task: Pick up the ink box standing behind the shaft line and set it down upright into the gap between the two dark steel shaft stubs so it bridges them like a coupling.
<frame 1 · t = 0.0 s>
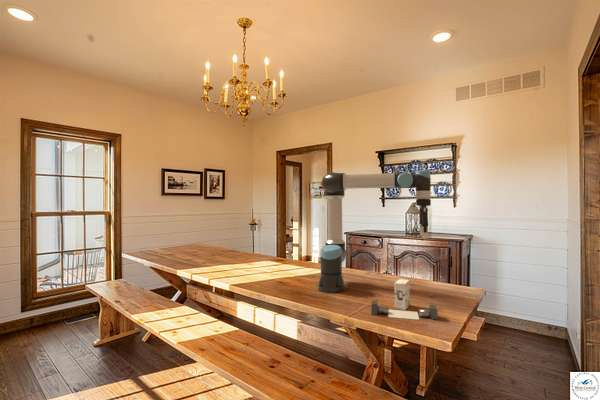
hand: (423, 237, 173), 28 cm above the table, fingers open, 13 cm apart
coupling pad: (403, 314, 134), on the table
shaft stub b: (427, 317, 131), on the table
ink box: (402, 307, 144), on the table
shaft stub a: (380, 313, 136), on the table
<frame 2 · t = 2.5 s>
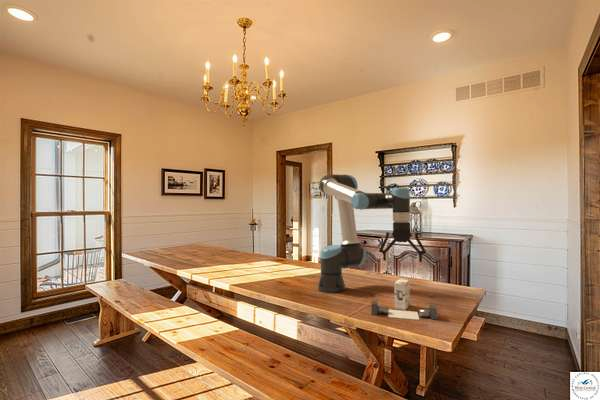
hand: (402, 268, 144), 18 cm above the table, fingers open, 13 cm apart
nothing on the table moved.
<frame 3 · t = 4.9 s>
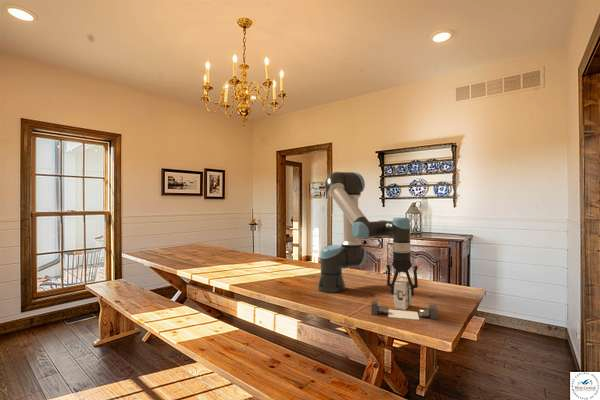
hand: (402, 302, 144), 2 cm above the table, fingers closed on ink box, 6 cm apart
ink box: (402, 307, 144), on the table, touching gripper
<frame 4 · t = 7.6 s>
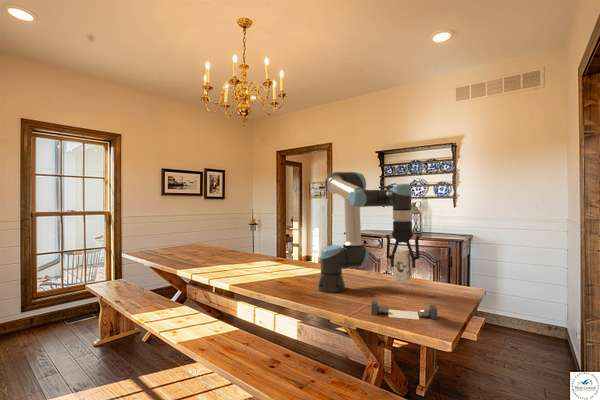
hand: (402, 275, 134), 17 cm above the table, fingers closed on ink box, 6 cm apart
ink box: (403, 280, 134), point 15 cm above the table, touching gripper
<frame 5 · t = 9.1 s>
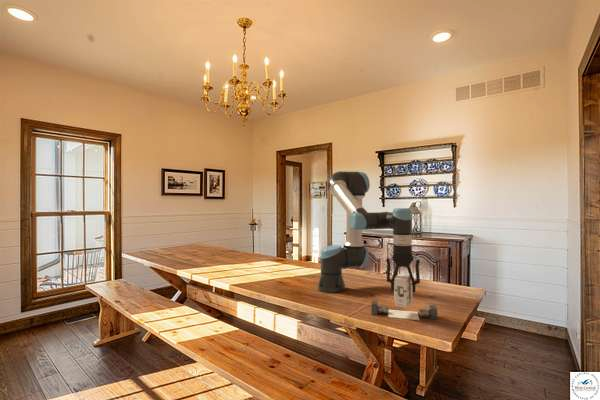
hand: (403, 299, 134), 7 cm above the table, fingers closed on ink box, 6 cm apart
ink box: (403, 304, 134), point 4 cm above the table, touching gripper
when the fingers open (4 cm above the table, at t = 10.5 s): ink box drops 2 cm, resting on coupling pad.
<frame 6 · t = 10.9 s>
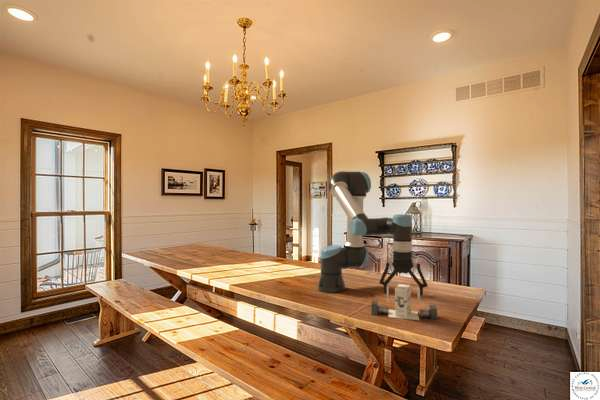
hand: (403, 301, 134), 6 cm above the table, fingers open, 12 cm apart
ink box: (403, 314, 134), resting on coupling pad
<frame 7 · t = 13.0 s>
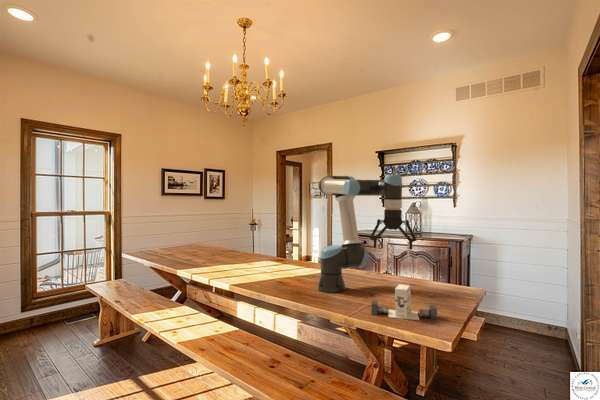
hand: (392, 255, 143), 23 cm above the table, fingers open, 13 cm apart
nothing on the table moved.
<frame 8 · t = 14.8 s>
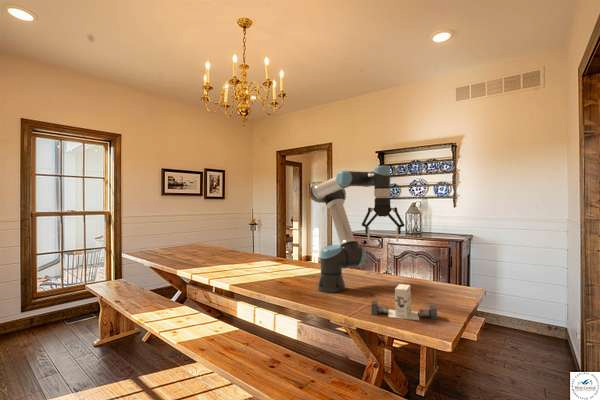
hand: (382, 240, 155), 29 cm above the table, fingers open, 13 cm apart
nothing on the table moved.
at the end: ink box inside the target area (0.0 cm from its centre), resting on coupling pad; ink box tilted 0°; the gripper is holding nothing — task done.
